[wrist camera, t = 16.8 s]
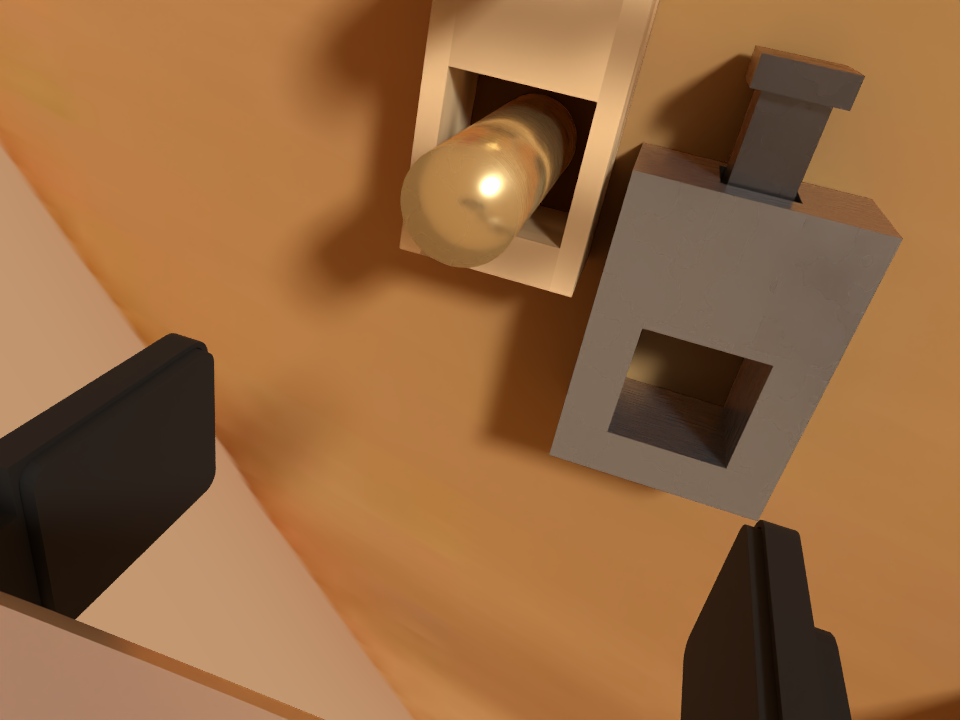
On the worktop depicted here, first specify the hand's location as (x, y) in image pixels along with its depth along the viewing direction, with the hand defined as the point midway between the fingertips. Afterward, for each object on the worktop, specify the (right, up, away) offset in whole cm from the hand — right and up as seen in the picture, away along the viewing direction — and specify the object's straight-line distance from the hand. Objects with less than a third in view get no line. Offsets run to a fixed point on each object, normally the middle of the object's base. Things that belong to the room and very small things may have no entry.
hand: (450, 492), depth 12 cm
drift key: (+12, +10, +19) cm, 25 cm away
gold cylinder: (+3, +13, +21) cm, 25 cm away
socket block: (+11, +5, +23) cm, 26 cm away
